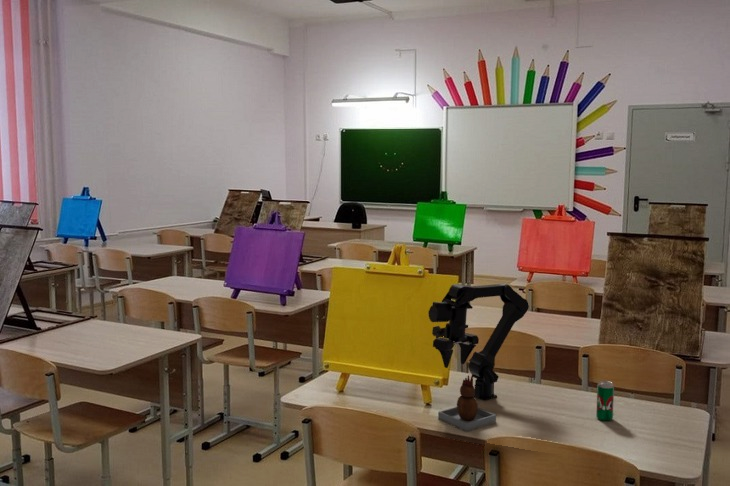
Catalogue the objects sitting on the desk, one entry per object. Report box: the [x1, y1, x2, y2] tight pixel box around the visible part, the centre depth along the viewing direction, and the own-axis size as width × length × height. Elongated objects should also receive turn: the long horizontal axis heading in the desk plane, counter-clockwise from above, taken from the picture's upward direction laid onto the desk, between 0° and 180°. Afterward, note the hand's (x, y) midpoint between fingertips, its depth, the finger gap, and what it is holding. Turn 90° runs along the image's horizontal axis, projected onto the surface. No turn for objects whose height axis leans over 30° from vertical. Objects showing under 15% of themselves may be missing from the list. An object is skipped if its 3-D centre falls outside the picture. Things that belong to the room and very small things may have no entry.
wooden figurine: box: [456, 374, 479, 421], centre depth 216 cm, size 7×6×15 cm
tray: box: [437, 406, 497, 433], centre depth 217 cm, size 13×13×2 cm
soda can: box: [595, 380, 615, 422], centre depth 217 cm, size 5×5×12 cm
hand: (454, 365), depth 233 cm, fingers open, 9 cm apart
